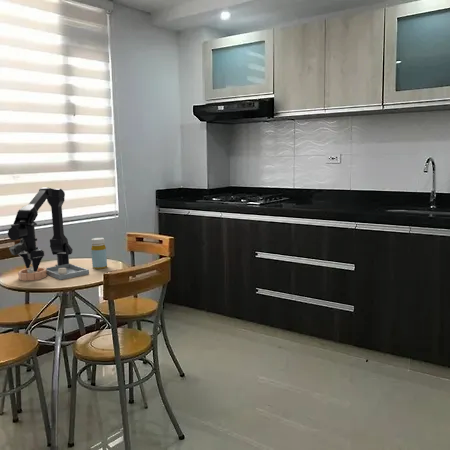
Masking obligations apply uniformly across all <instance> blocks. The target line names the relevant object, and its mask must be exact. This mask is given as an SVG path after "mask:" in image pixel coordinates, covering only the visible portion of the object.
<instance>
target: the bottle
mask: <svg viewBox="0 0 450 450" xmlns="http://www.w3.org/2000/svg"><path fill="white" fill-rule="evenodd" d="M105 241H106V239H105V238H104V237H94V238H91V249H90V250H91V251H90V252H91V262H92V263H91V264H92V265H91V266H92V268H93V269H94V270H103V269H106V268H108V260H107V257H108V256H107V247H106V243H105Z"/></svg>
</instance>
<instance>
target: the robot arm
mask: <svg viewBox="0 0 450 450" xmlns="http://www.w3.org/2000/svg"><path fill="white" fill-rule="evenodd" d="M65 195H66V194H65V191H64V190H63V189H62V188H50V187H41V188H39V189H38V192H37V193H36V194H35V196H34V197H33V198H32V199H31V201H30V202H29V203H28V204H26V205H24V206H22V207H21V208H19V210H17V212H16V216H15V219H14V221H13V224H11V225H10V228H9V229H8V231H7V236H8V238H9V239H10V240H12V241H17V240H18V241H19V242H18V243H16V244H14V245H12V246H10V247H9V248H8V249H9V251H10V253H11V255H13V256H17V255H18V256H19V257H20V258H21V259H22V260H23V263H24V265H25V269H28V268H29V267H30V266H33V269H34V272H36V271H37V269H38V267H40V264H41V262H42V260H43V258H44V257H45V251H44V250H43V249H40V248H38V246H37V243H36V242H37V241H38V238H37V237H36V231H35V226H38V223H36V222H35V221H36V219H37V218H38V213H39V212H38V211H39V209H40V208H41V207H42V206H43V204H44V203H45V202H47V203H48V204H49V206H50V211H51V220H52V233H53V236H52V238H50V239H49V244H50V245H49V248H50V251H51V254H52V255H53V256H55V255H56V261H57V263H56V264H55V265H54V266H60V265H65V264H70V258H69V257H70V256H69V255H72V254H73V247H71V245H70V244H69V240H68V238H67V236H65V232H64V222H63V221H64V220H63V208H62V207H63V204H64V203H65Z"/></svg>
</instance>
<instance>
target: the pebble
mask: <svg viewBox="0 0 450 450" xmlns="http://www.w3.org/2000/svg"><path fill="white" fill-rule="evenodd" d="M58 274H59V275H63V274H67V271H66V268H59V269H58Z"/></svg>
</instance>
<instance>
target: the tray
mask: <svg viewBox="0 0 450 450" xmlns="http://www.w3.org/2000/svg"><path fill="white" fill-rule="evenodd" d="M45 268H46V269H47V276H49V277H52V278H55V279H57V280H66V279H73V278H75V277H80V276H85V275H90V271H89V269H88V268H84V267H81V266H79V265H76V264H72V263H69V264H65V265H60V266H55V265H54V266H50V267H45ZM59 268H66V271H67V274H63V275H59V274H58V269H59Z"/></svg>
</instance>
